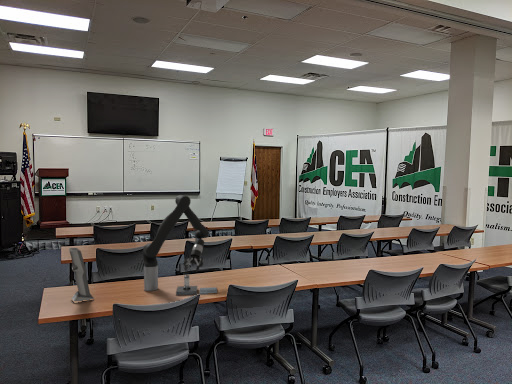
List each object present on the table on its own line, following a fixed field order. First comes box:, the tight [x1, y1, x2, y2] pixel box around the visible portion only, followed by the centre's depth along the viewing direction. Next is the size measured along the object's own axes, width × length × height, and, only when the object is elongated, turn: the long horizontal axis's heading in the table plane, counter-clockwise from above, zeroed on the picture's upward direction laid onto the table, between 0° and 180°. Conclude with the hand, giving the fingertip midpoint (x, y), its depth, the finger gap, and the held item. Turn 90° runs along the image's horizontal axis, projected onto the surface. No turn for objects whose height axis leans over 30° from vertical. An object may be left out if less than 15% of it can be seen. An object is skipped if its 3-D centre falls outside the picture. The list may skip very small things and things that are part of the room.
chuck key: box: [183, 274, 190, 290], centre depth 267 cm, size 4×4×12 cm
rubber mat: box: [199, 286, 218, 295], centre depth 269 cm, size 12×12×1 cm
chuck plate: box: [175, 285, 198, 296], centre depth 267 cm, size 14×12×2 cm
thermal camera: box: [68, 247, 95, 301], centre depth 251 cm, size 12×13×35 cm
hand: (191, 270), depth 274 cm, fingers open, 8 cm apart
